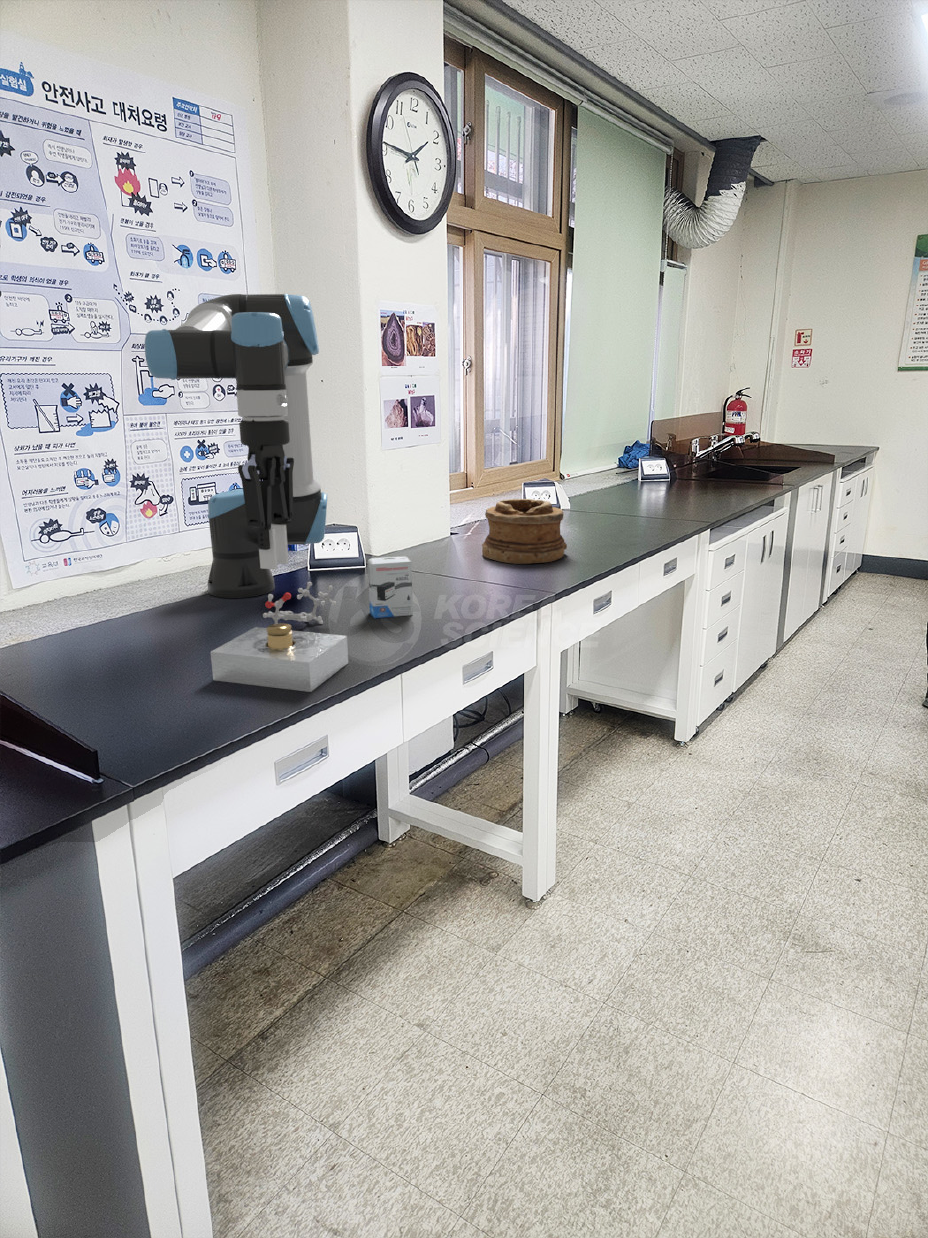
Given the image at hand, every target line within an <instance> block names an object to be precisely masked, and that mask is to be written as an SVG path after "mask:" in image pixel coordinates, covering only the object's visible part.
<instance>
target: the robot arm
mask: <svg viewBox="0 0 928 1238" xmlns="http://www.w3.org/2000/svg"><path fill="white" fill-rule="evenodd" d="M319 353H320V348H319V342H318V334H317V329H316V323H315V317H314V314H313V308H312V306H311V302H310V301H309V299H308V298H307V296H303V295H297V294H288V293H274V294H273V293H271V294H270V293H267V294H266V293H265V294H262V293H261V294H259V293H258V294H242V293H232V294H227V295H225V294H224V295H222V296H218V297H215V298H214V297H213V298H212V299H209V300H206V301H204V302H202V303H200V304H198V305H196V306H195V307H194V308H192V309H191V310H190V312H189V313H188V314H187V317H186V320H185V322H183V323H182V324H180V325H179V326H178V327H177V328H175V329H167V328H162V329H155V330H154V329H153V330H148V331H147V333H146V334H145V338H144V355H145V356H144V357H145V360H146V366H147V369H148V371H149V373H150V375H152V376H153V377H154V378H155V379H164V380H165V379H167V380H168V379H169V380H172V381H175V380H182V379H184V380H186V379H190V380H191V379H199V380H200V379H235V381H236V383H235V384H236V385H235V386H236V387H235V388H236V400H237V401H236V402H237V403H236V404H237V415H238V417H240V418H242V420H240V422H239V424H238V426H239V438H240V443H241V445H243V446H247V447H248V453H247V462H246V463H245V464H239V465H238V466H237V472H238V474H239V477H240V480H241V485H242V488H238V489H233V490H227V491H223V492H219V493H216V494H214V495H212V496H211V497H210V498H209V499H208V503H207V508H208V509H207V510H208V512H207V513H208V515H207V519H208V522H209V523H208V524H209V525H208V526H209V531H210V533H209V534H210V542H211V552H212V562H211V566H210V570H209V576H208V579H207V593H208V594H209V595H211V596H213V597H218V598H224V599H240V598H242V599H243V598H250V597H252V598H253V597H257V596H263V595H265V594H270V593H271V592H272V591H274V590H275V587H276V585H275V578H274V576H273V573H272V570H277V569H278V565H289V559H290V558H289V546H288V545H292V546H293V545H296V546H297V545H302V546H306V545H311V544H319V543H321V542H322V541H323V540H324V538H325V534H326V533H325V532H326V523H327V520H326V519H327V506H328V494H327V493H326V492H323V491H322V490H321V484H319V483H318V482H317V481H316V480H315V479H314V471H313V469H314V468H313V455H312V441H311V440H312V439H311V438H312V437H311V428H310V427H311V425H310V413H309V412H310V411H309V409H310V408H309V399H308V398H309V397H308V394H309V393H308V381H307V380H308V379H307V371H308V369H309V368H310V367H311V366H312V365H313V363H314V361H313V356H316V355H319ZM321 491H322V492H321Z"/></svg>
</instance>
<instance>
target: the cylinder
mask: <svg viewBox="0 0 928 1238" xmlns="http://www.w3.org/2000/svg"><path fill="white" fill-rule="evenodd" d="M266 628H267V635H268V647H269V648H275V649H279V648H287V647H291V646H293V643H292V631H293V630H292V625H291V624H289V623H283V622H282V623H280V622H279V623H278V624H275V623H272V624H269V625H267V627H266Z"/></svg>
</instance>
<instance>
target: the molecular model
mask: <svg viewBox="0 0 928 1238" xmlns="http://www.w3.org/2000/svg"><path fill="white" fill-rule="evenodd" d="M306 585H307V586H306V588H305V589H303V588H302V587H299V588H298V589H297V591H298V593H300V594H297V595H296V598H297V600H301V599H302V597H305V598H306V597H308V598H309V599H310V600H312V601H313V608H312V611H311V612H309V613H307V612H304V611H302V612H300V613H294V612H293V611H291V610H285V611H283V610H280V609H281V608H282V607H283V604H284V603H285V602H286V601H288V600H291V598H292V594H291V593H290V592H285V593H284V594H283V596H282V597H281V598H279V599H278V600H276V601H275V602H273V599H274V594H272V593H268V595H267V598H268V600H267V601H266V602H265V604H264V605H265V607H266V608H267V609H271V608H273V607H274V608H275V612H272V611H270V610H269V611H268V612H264V613H263V614H262V617H263V618H264V619H266V618H272V620H273V622H274V624H279V623H278V621H279V620H281V619H282V620H284V621H289V620H290V621H291V620H293V621H297V622H299V623H300V622H306V623H309V622H311V621H312V620H315V621H317V622H318V624H319V625H323V624H324V621H323V617H322V616H321V615H318V616H317V613H316V611H317V609H318V606H320V605H321V606H325V605H326V601H328V602H329V603H331V606H332V607H335V606H336V605H337V602H336V601H335V600H332V598H331V595H330V593H331V591H333V589H334V587H333V585H329V586H328V587H327V588H328V589H327V591H326V592H322V591H319V592H318V593H317V594H318V596H319V597H321V598H318V597H317V598H316V597H314V596H313V595H312V594H310V593H311V592H310V588H311V587H312V586H313V582H311V581H308V582H307V583H306Z"/></svg>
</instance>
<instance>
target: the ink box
mask: <svg viewBox="0 0 928 1238" xmlns="http://www.w3.org/2000/svg"><path fill="white" fill-rule="evenodd" d="M412 567H413V566H412V560H411V559H410V558H409V557H408V556H405V555H404V556H389V557H388V556H387V557H372V558H369V559H368V560H367V571H368V597H369V598H368V599H369V613H370V615H371V616H372V617H373V619H382V618H394V617H404V616H405V617H407V616H413V615H414V613H413V612H414V611H413V609H414V607H413V605H414V604H413V600H414V599H413V573H412V571H413V570H412Z"/></svg>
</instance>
